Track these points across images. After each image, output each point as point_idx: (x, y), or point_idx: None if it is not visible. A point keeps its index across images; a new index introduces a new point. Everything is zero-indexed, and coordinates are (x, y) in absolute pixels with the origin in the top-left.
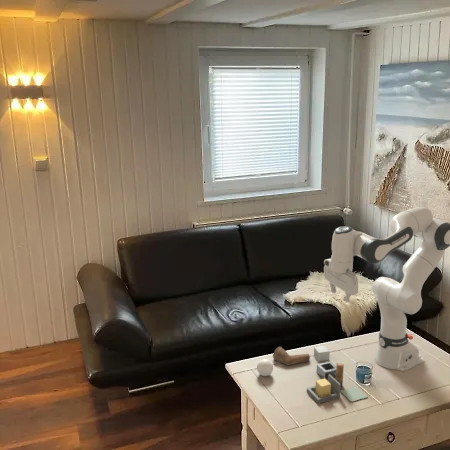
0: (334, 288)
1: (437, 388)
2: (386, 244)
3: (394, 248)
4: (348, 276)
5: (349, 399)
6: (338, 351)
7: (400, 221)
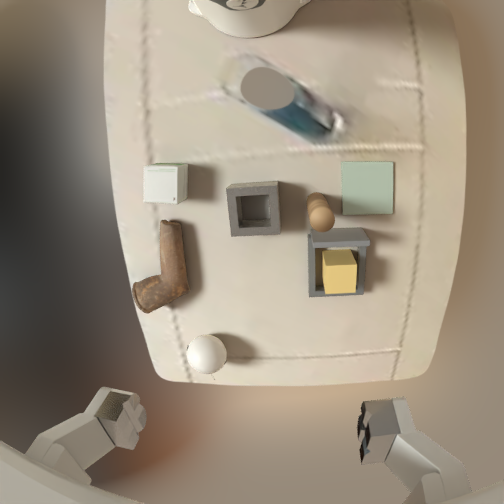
0: (108, 429)
1: None
2: None
3: None
4: None
5: (384, 213)
6: (153, 116)
7: None
